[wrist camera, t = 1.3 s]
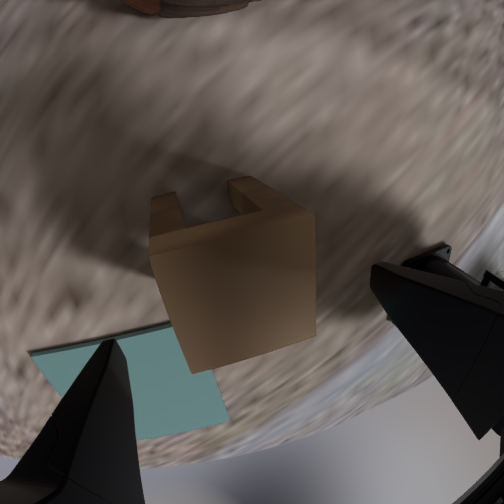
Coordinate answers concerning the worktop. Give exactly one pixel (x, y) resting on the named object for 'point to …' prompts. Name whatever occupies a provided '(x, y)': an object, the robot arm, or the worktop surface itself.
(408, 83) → the worktop surface
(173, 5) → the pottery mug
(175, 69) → the worktop surface
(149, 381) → the mat
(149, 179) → the worktop surface
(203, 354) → the brown u-shaped block
